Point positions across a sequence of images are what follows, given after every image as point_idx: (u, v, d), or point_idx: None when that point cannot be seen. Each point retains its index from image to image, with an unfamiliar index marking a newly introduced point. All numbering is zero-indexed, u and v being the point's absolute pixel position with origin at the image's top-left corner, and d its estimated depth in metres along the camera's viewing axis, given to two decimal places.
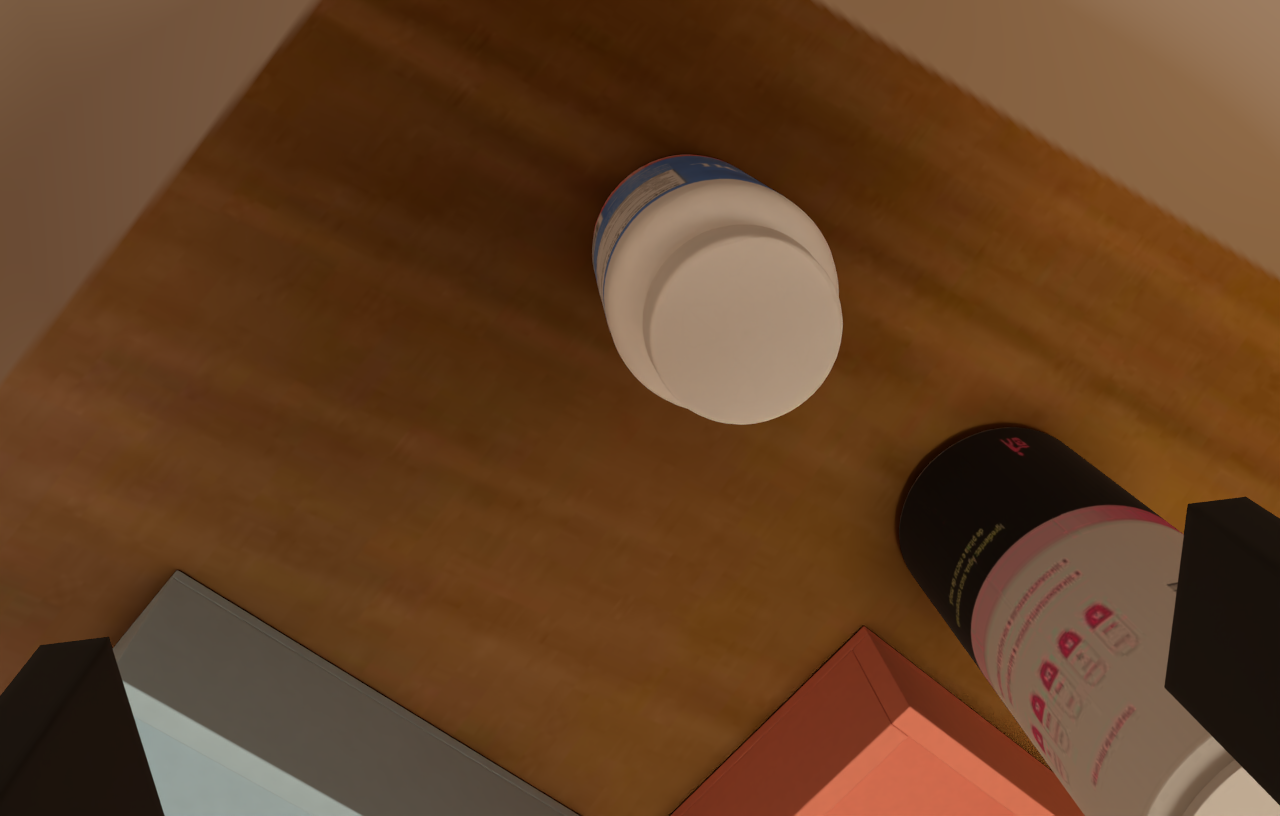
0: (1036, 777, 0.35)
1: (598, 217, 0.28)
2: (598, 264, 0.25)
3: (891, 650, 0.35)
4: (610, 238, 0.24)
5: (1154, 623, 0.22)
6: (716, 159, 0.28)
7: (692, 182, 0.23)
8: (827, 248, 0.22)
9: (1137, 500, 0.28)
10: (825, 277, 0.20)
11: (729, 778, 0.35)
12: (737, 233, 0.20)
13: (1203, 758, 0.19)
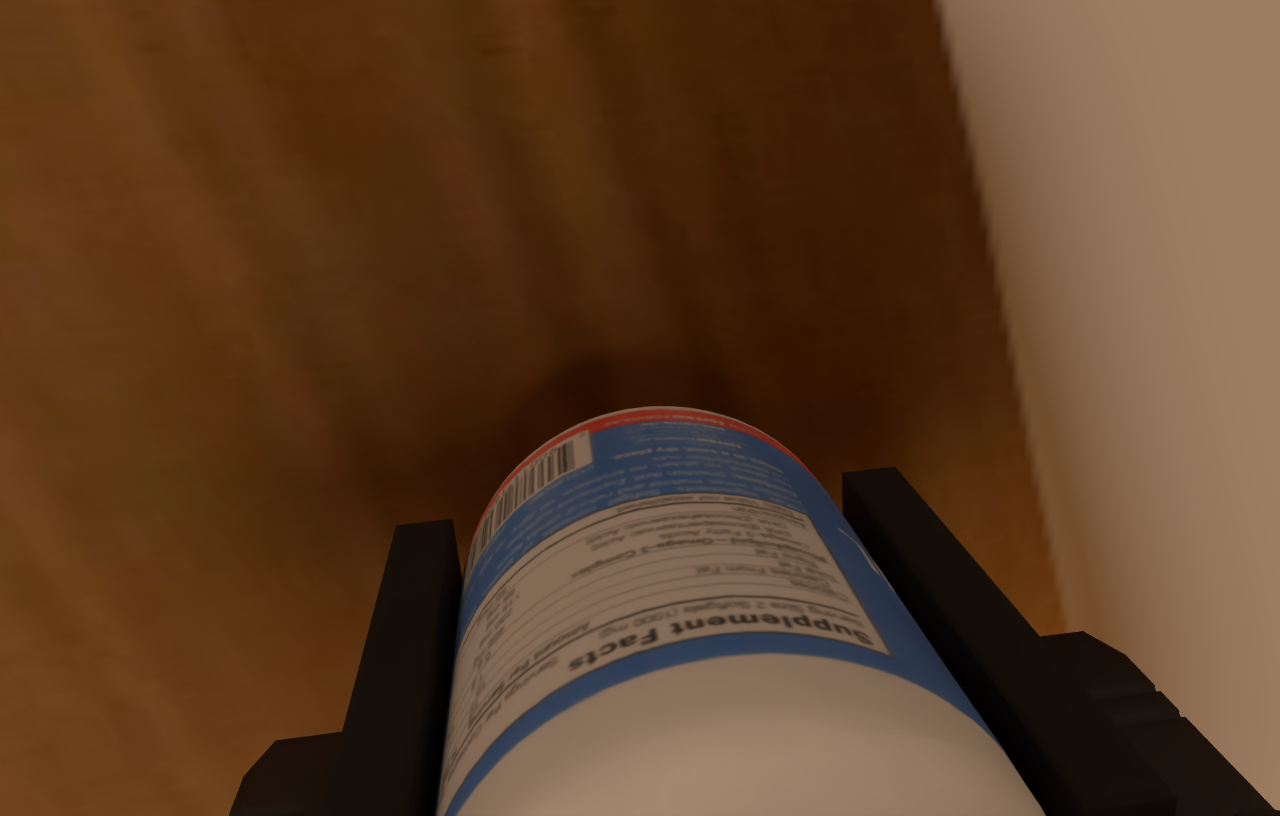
0: None
1: (576, 433, 0.13)
2: (529, 582, 0.10)
3: None
4: (613, 591, 0.09)
5: None
6: None
7: (911, 676, 0.08)
8: None
9: None
10: None
11: None
12: None
13: None
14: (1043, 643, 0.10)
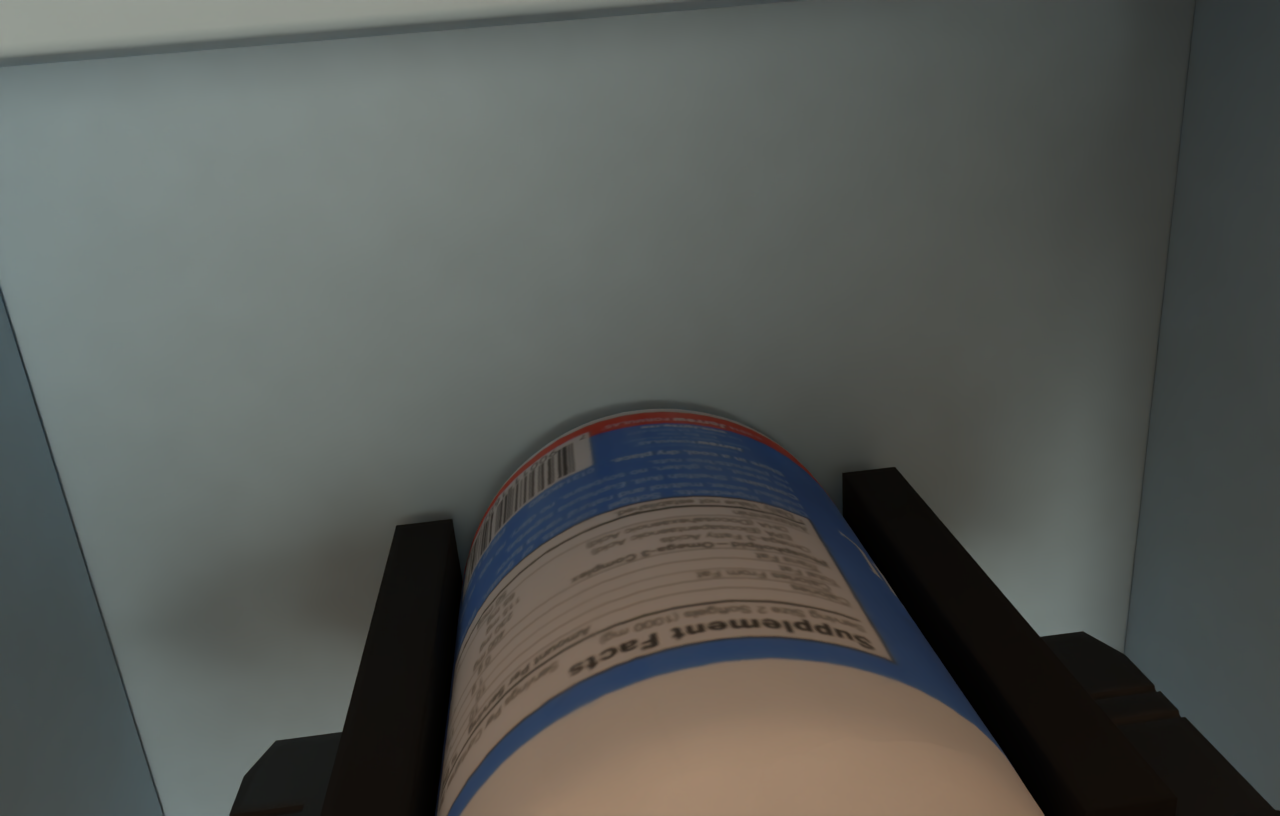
0: None
1: (576, 436, 0.13)
2: (529, 586, 0.10)
3: None
4: (613, 595, 0.09)
5: None
6: None
7: (912, 681, 0.08)
8: None
9: None
10: None
11: None
12: None
13: None
14: (1043, 643, 0.10)
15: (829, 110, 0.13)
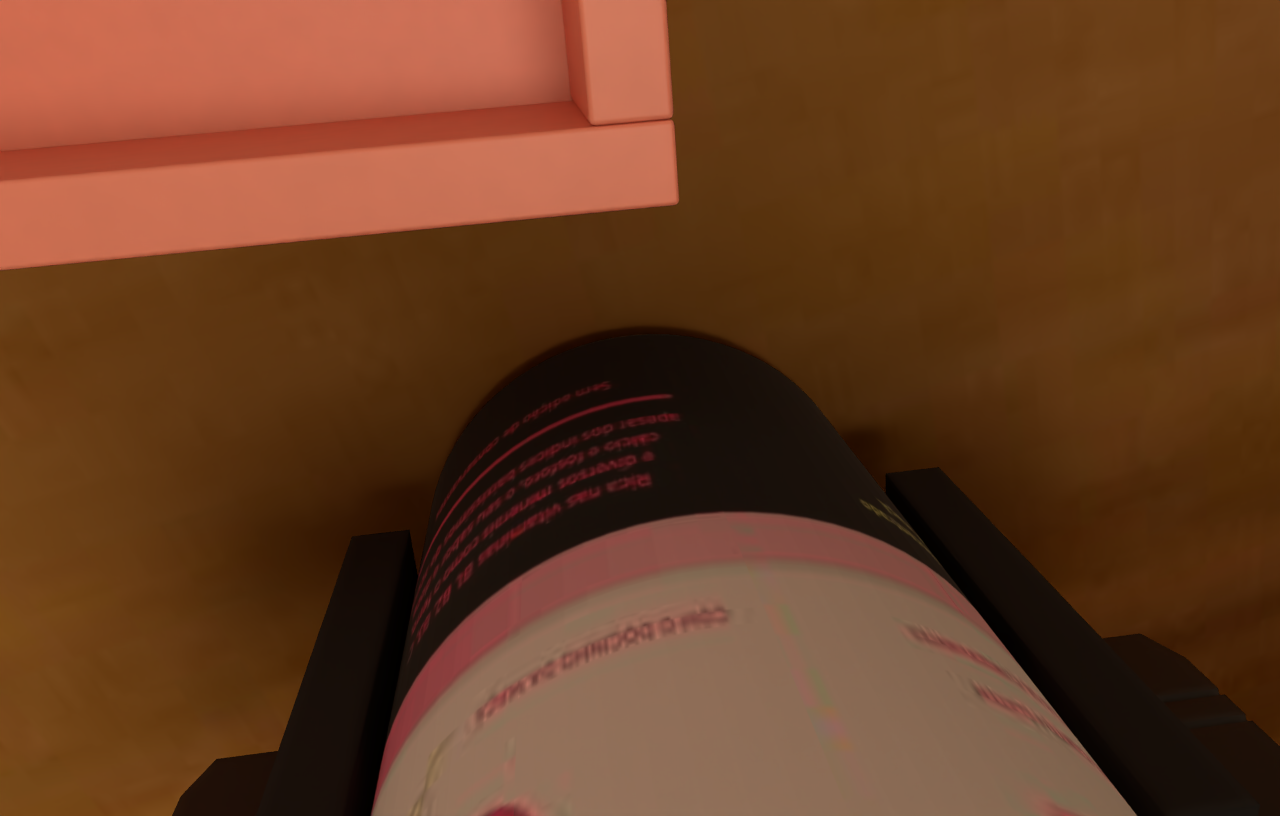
0: None
1: None
2: None
3: None
4: None
5: None
6: None
7: None
8: None
9: None
10: None
11: None
12: None
13: None
14: (1107, 646, 0.10)
15: None
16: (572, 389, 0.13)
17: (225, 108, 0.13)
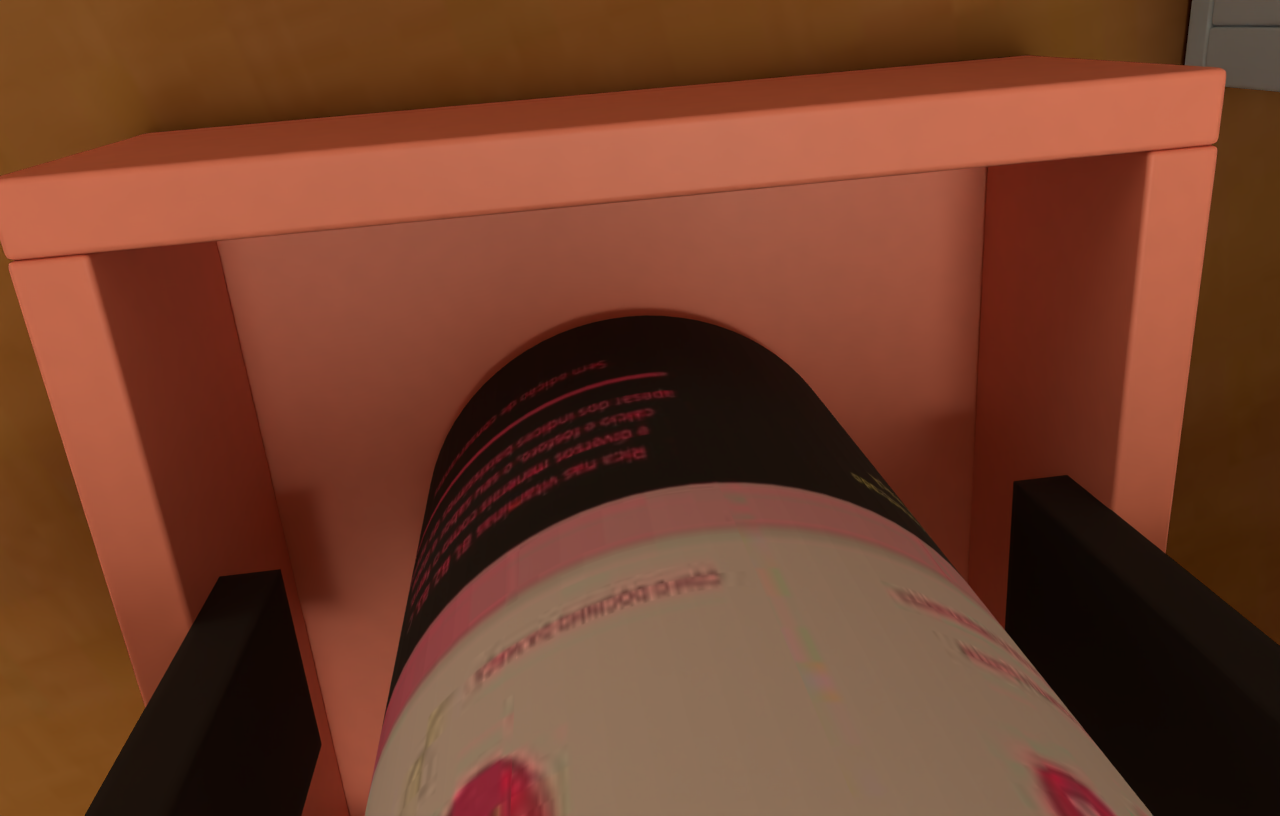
0: None
1: None
2: None
3: None
4: None
5: None
6: None
7: None
8: None
9: None
10: None
11: None
12: None
13: None
14: None
15: None
16: (568, 368, 0.13)
17: None
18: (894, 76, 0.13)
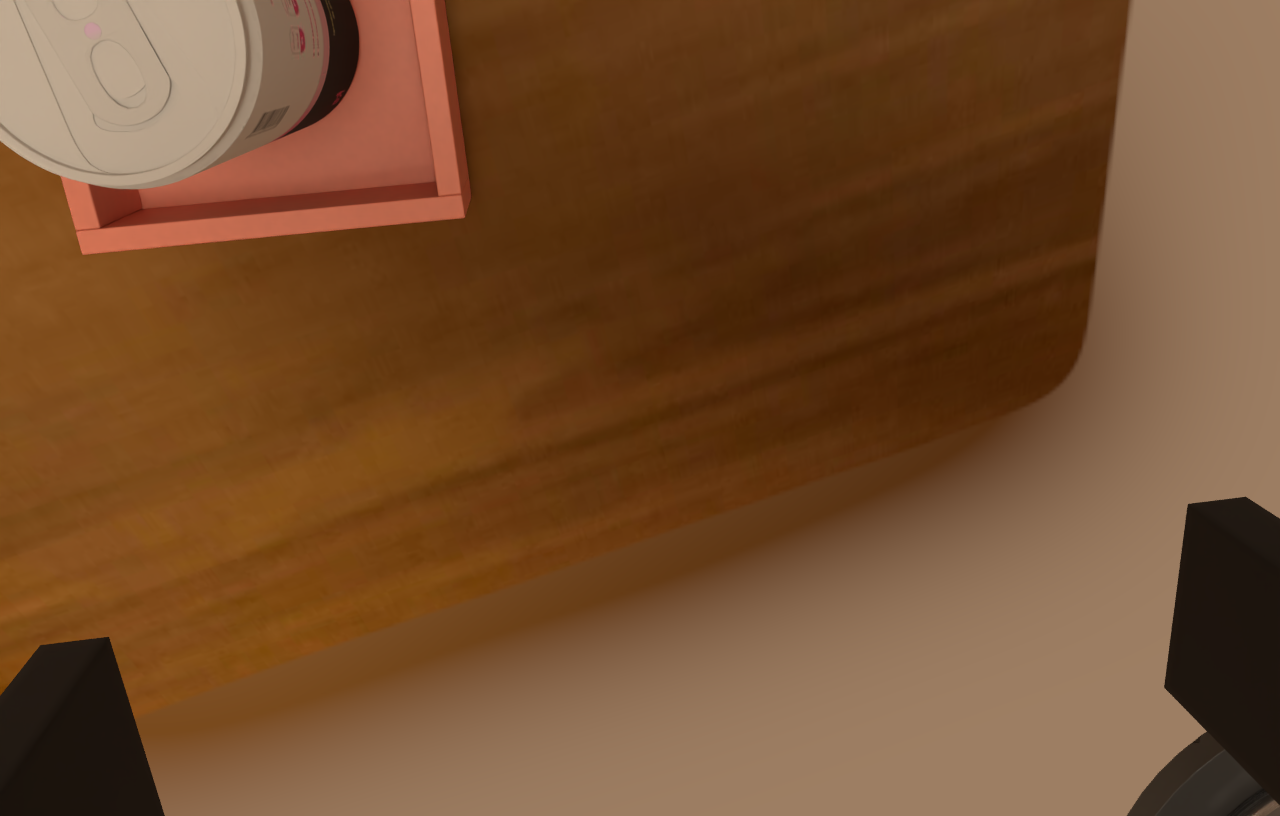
0: None
1: None
2: None
3: None
4: None
5: (291, 73, 0.25)
6: None
7: None
8: None
9: None
10: None
11: None
12: None
13: (251, 18, 0.22)
14: None
15: None
16: None
17: (327, 184, 0.37)
18: None
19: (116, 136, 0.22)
